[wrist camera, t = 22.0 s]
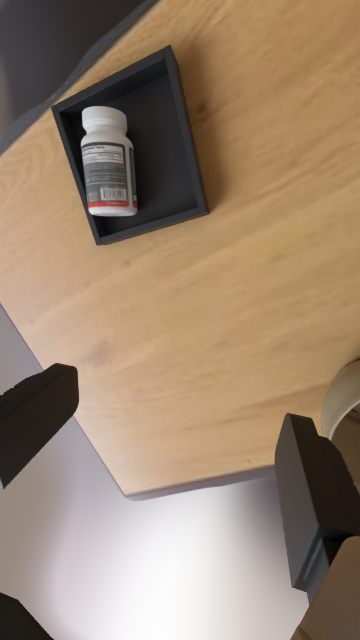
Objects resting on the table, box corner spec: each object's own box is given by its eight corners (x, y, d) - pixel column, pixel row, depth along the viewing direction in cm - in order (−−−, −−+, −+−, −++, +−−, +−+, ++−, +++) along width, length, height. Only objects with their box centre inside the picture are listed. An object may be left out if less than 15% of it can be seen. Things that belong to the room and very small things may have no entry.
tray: (177, 63, 27) (170, 44, 25) (209, 214, 31) (206, 212, 29) (67, 117, 32) (50, 106, 29) (107, 244, 36) (96, 245, 33)
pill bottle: (111, 217, 34) (104, 130, 31) (146, 215, 32) (142, 120, 29) (77, 214, 29) (64, 111, 26) (116, 211, 27) (106, 97, 24)
